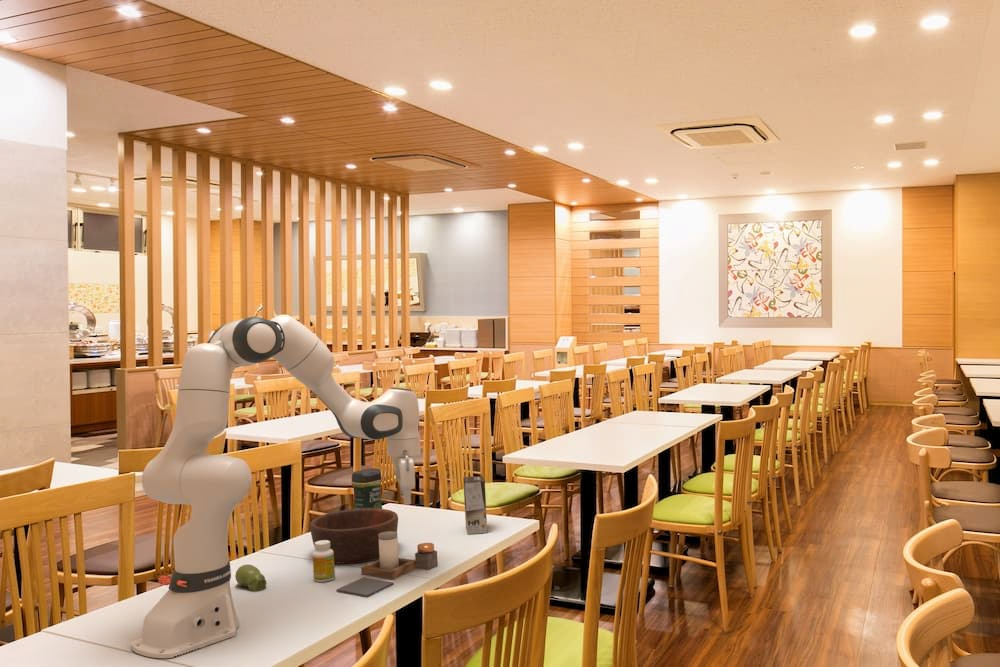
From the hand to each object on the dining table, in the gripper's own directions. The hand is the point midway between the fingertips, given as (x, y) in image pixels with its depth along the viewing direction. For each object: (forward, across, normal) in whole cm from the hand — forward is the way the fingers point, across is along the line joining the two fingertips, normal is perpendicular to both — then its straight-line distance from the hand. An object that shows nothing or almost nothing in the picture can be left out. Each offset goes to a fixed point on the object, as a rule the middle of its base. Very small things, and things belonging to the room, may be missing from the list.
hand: (405, 500), depth 215 cm
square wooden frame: (+19, +2, +2) cm, 19 cm away
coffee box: (+18, +33, -24) cm, 45 cm away
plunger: (+18, +2, -5) cm, 18 cm away
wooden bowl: (+19, +22, +13) cm, 31 cm away
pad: (+19, -10, +12) cm, 24 cm away
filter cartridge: (+19, +2, +5) cm, 19 cm away
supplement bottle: (+19, +1, +22) cm, 29 cm away
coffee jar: (+18, +52, +8) cm, 55 cm away
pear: (+20, +2, +40) cm, 44 cm away
